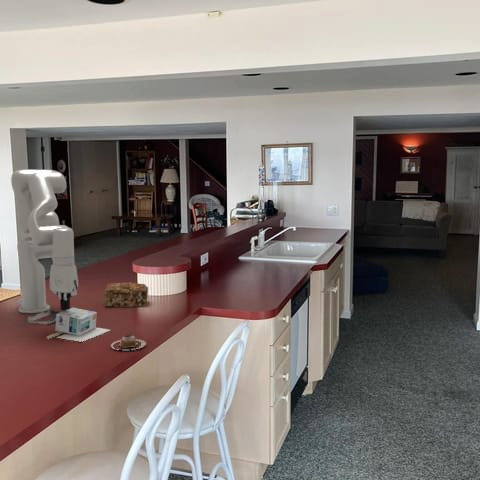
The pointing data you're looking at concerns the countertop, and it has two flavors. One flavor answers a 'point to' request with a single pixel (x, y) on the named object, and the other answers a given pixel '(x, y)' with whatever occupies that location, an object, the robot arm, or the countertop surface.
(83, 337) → the white flat sheet
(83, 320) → the light bulb box
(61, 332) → the maple strip
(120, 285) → the bread
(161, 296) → the countertop surface
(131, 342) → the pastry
